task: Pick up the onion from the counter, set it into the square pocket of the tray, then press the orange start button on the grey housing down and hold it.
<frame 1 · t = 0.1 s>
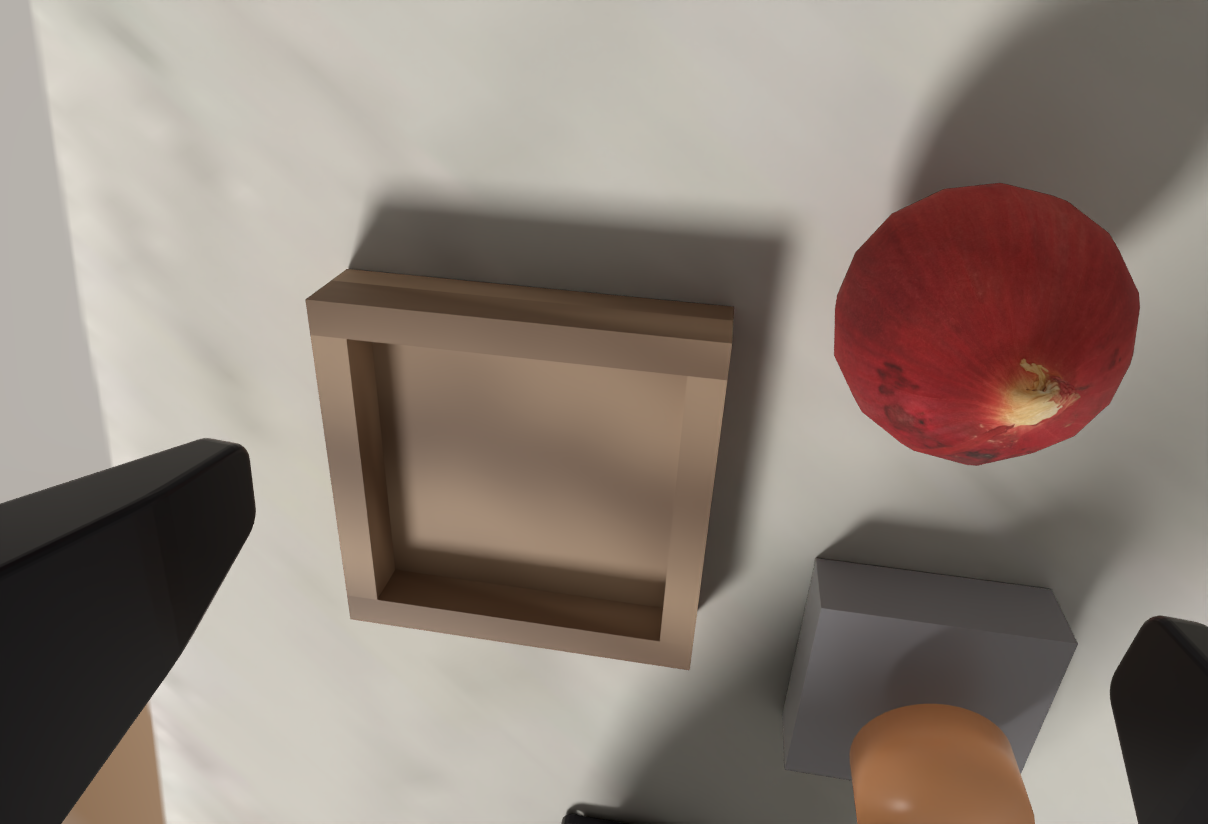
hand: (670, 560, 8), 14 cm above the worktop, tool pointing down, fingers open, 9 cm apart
start button: (936, 789, 22), point 5 cm above the worktop, slide at 0.0 cm
tray: (534, 455, 25), on the worktop
onion: (937, 268, 21), on the worktop
button housing: (906, 656, 27), on the worktop
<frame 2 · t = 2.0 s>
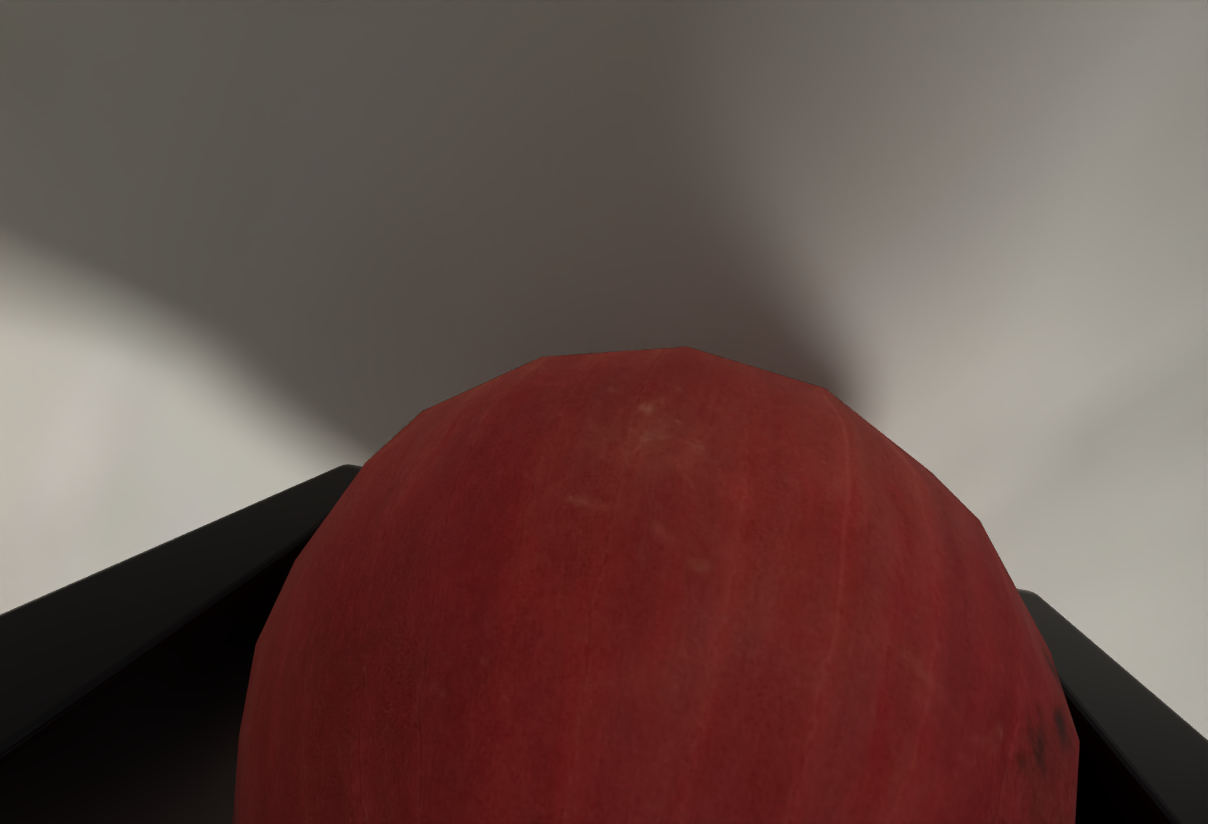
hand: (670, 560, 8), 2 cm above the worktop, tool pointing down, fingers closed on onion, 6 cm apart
onion: (682, 463, 10), on the worktop, touching gripper
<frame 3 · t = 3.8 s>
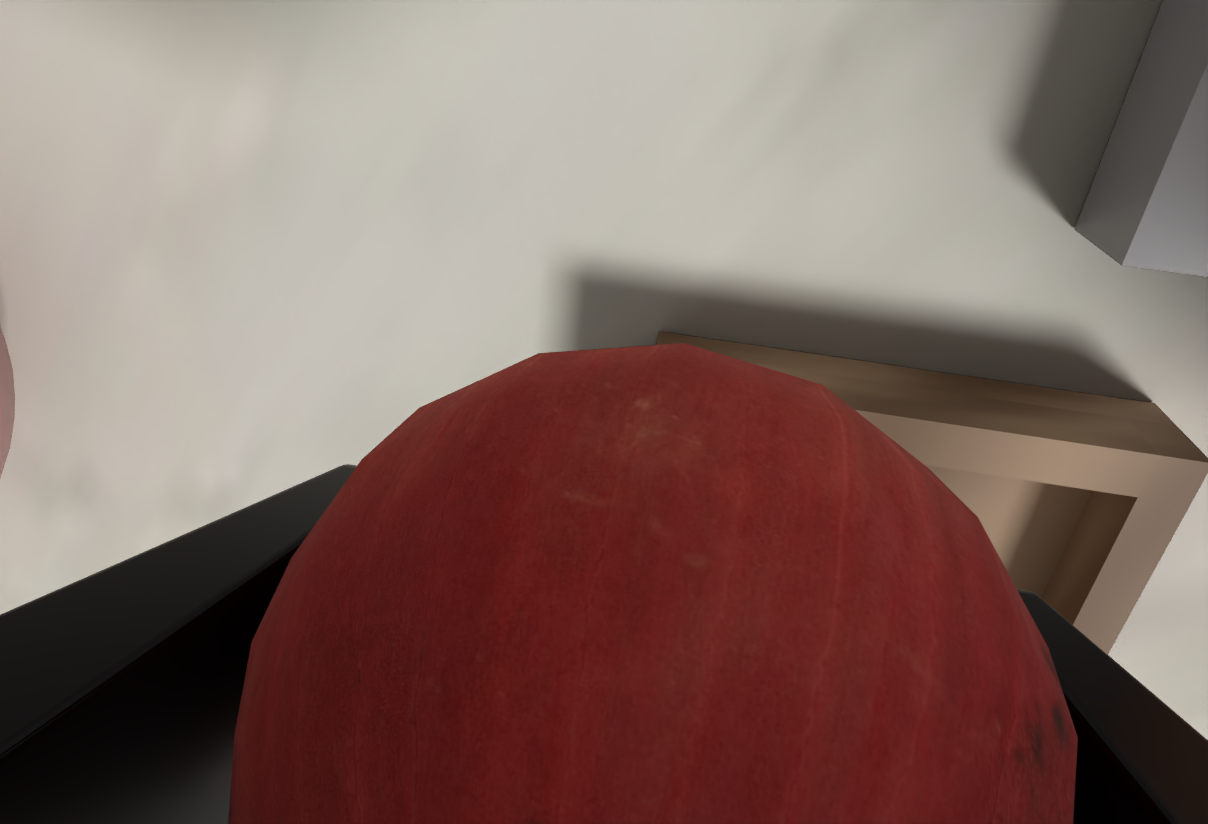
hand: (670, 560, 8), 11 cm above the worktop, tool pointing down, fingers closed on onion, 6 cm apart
tray: (842, 557, 21), on the worktop
onion: (680, 461, 10), point 9 cm above the worktop, touching gripper
when the fingers open (5 cm above the worktop, at t = 5.9 s): onion drops 2 cm, resting on tray.
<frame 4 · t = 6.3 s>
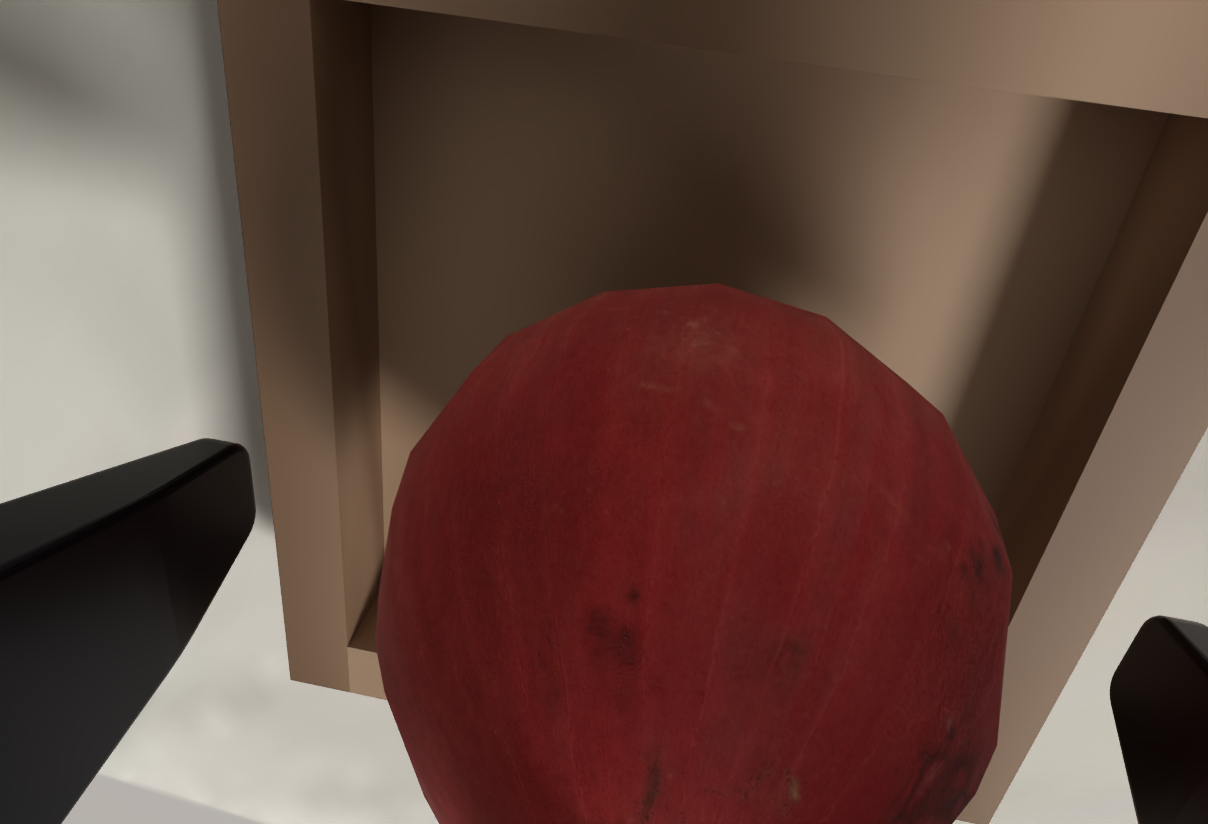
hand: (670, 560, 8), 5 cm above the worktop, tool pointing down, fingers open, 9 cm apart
tray: (694, 366, 12), on the worktop
onion: (702, 394, 11), point 1 cm above the worktop, touching tray
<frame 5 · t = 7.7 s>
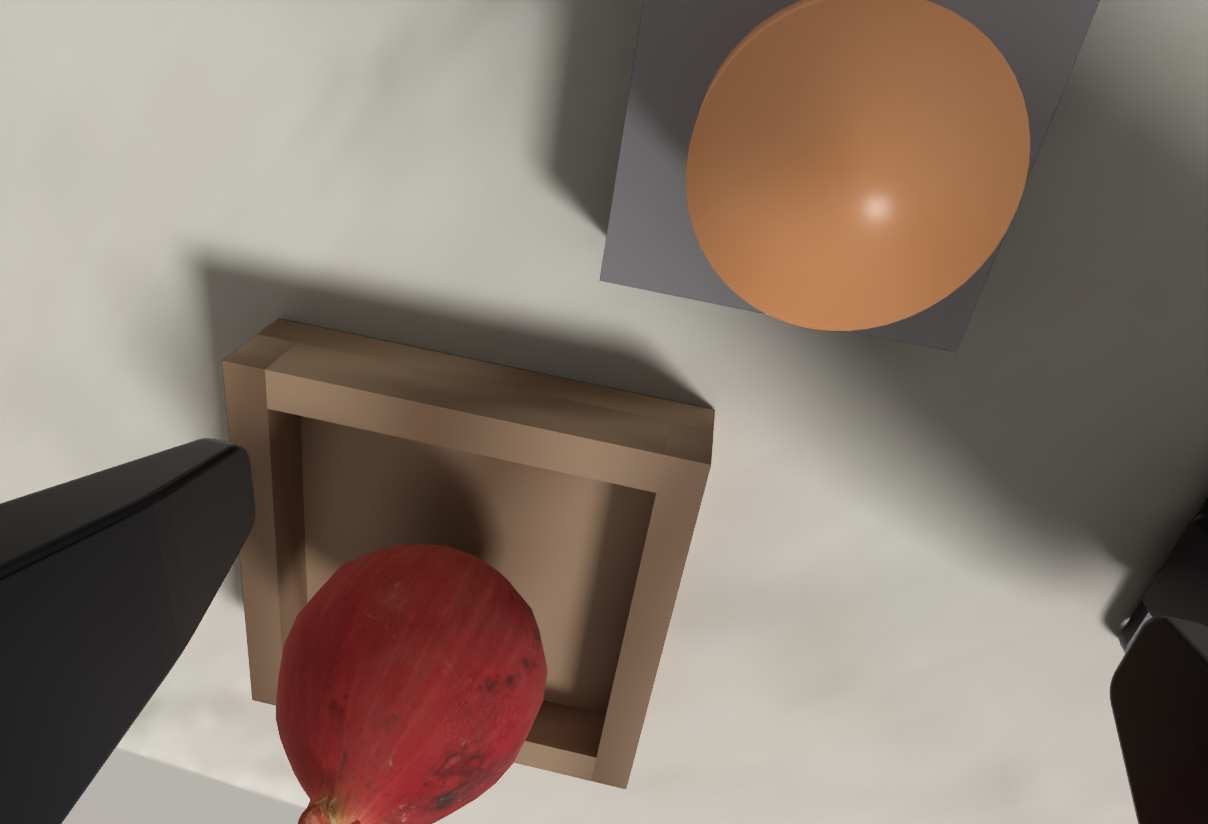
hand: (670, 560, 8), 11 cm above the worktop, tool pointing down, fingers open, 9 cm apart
start button: (843, 162, 12), point 5 cm above the worktop, slide at 0.0 cm
tray: (476, 539, 23), on the worktop
onion: (472, 560, 22), point 1 cm above the worktop, touching tray
button housing: (817, 110, 16), on the worktop
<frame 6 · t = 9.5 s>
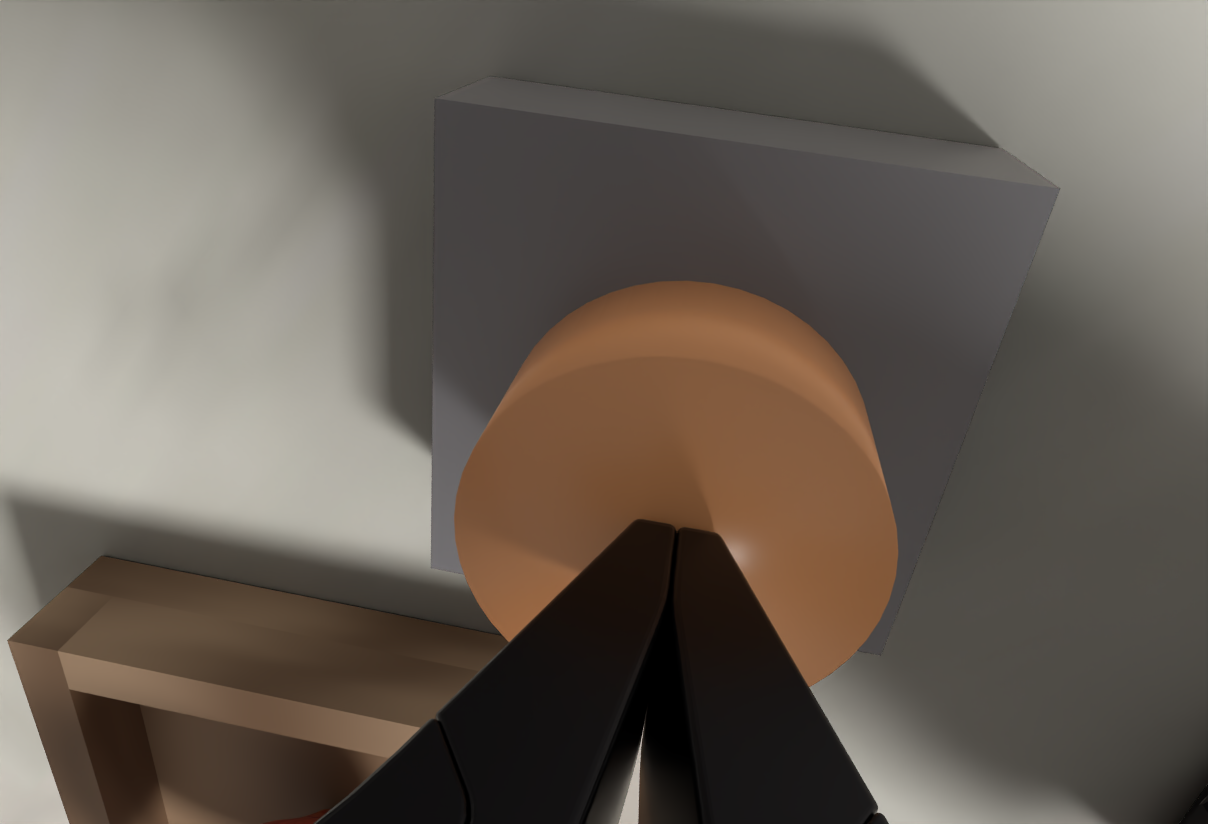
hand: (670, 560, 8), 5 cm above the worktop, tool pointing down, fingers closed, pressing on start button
start button: (674, 500, 9), point 4 cm above the worktop, slide at 0.7 cm, touching gripper
tray: (360, 778, 19), on the worktop
onion: (352, 811, 19), point 1 cm above the worktop, touching tray
button housing: (697, 344, 13), on the worktop
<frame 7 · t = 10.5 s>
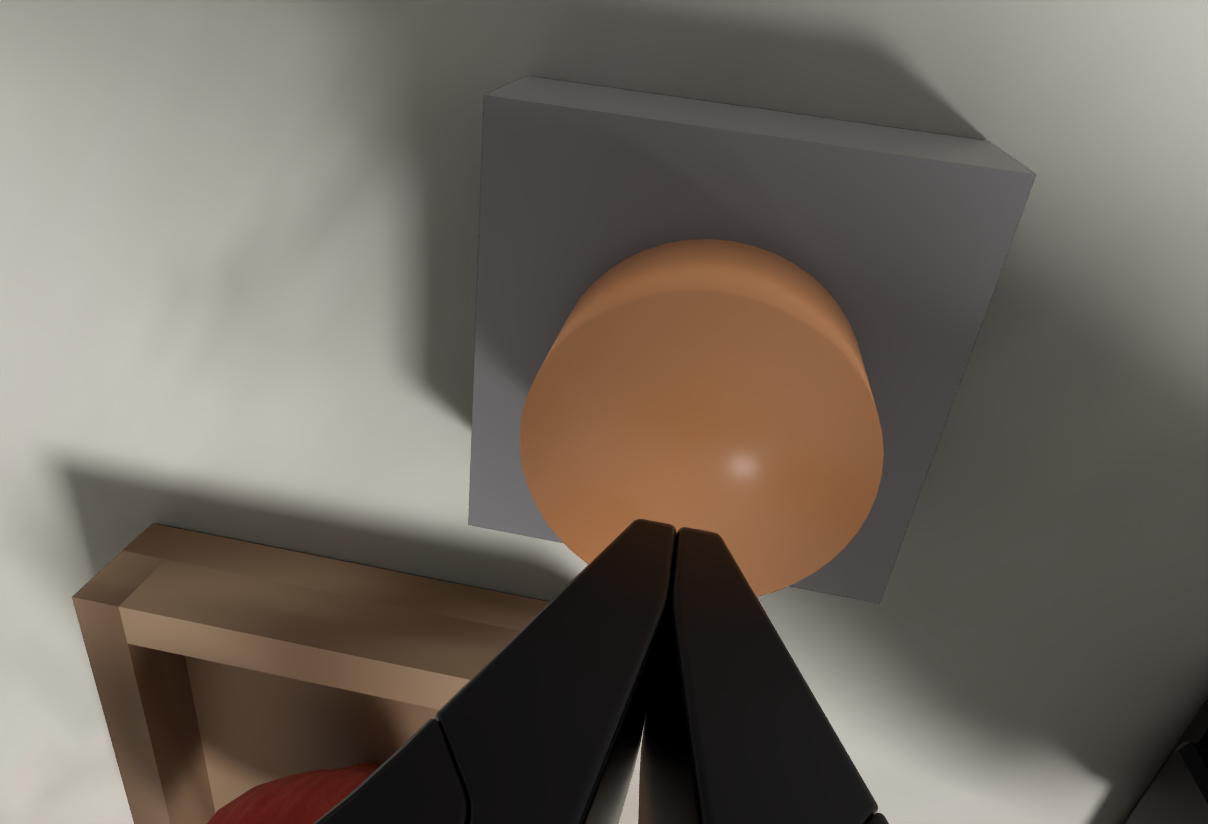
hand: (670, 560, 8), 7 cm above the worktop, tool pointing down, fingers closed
start button: (699, 422, 11), point 4 cm above the worktop, slide at 1.3 cm
tray: (390, 737, 21), on the worktop
onion: (383, 766, 20), point 1 cm above the worktop, touching tray
button housing: (711, 321, 14), on the worktop
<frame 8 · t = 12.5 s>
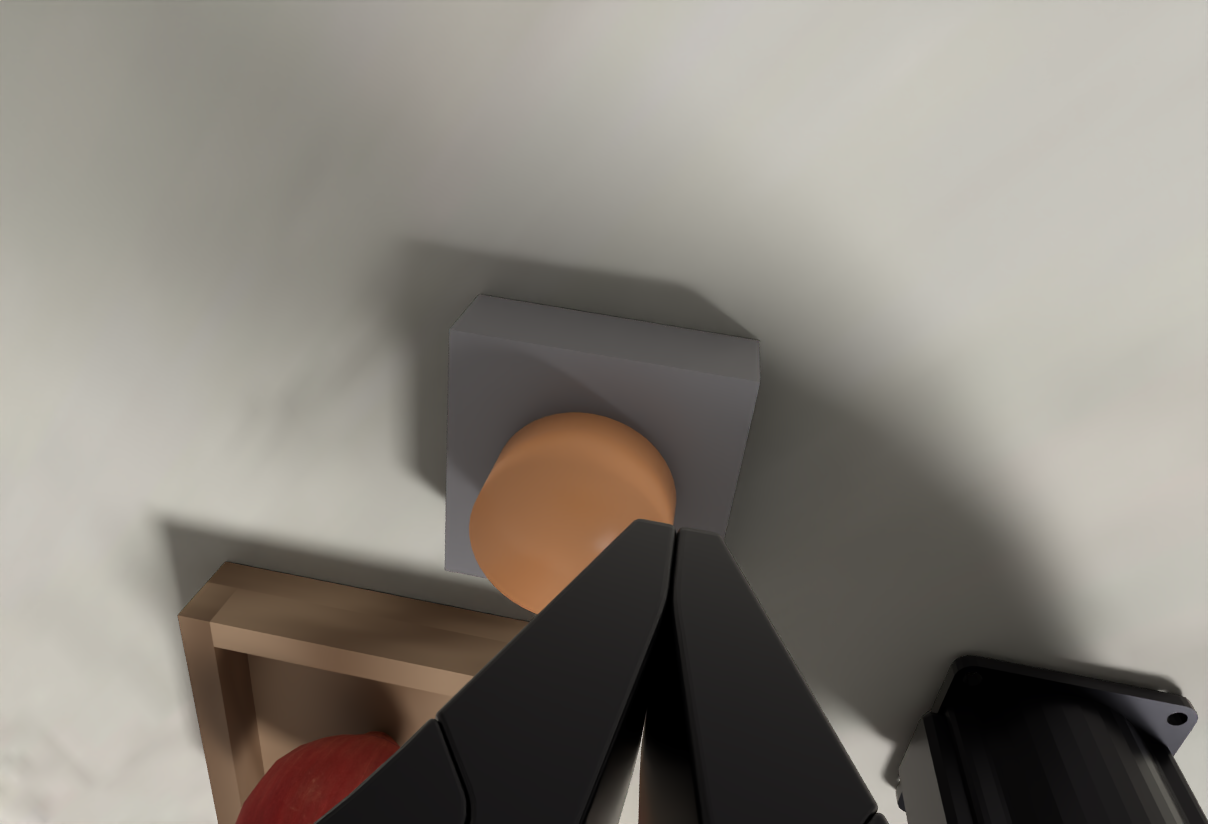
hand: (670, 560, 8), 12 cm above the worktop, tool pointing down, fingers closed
start button: (575, 518, 18), point 4 cm above the worktop, slide at 1.3 cm
tray: (393, 714, 28), on the worktop
onion: (388, 734, 28), point 1 cm above the worktop, touching tray
button housing: (601, 438, 22), on the worktop
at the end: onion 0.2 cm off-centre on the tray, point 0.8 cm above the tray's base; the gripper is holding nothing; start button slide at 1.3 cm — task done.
